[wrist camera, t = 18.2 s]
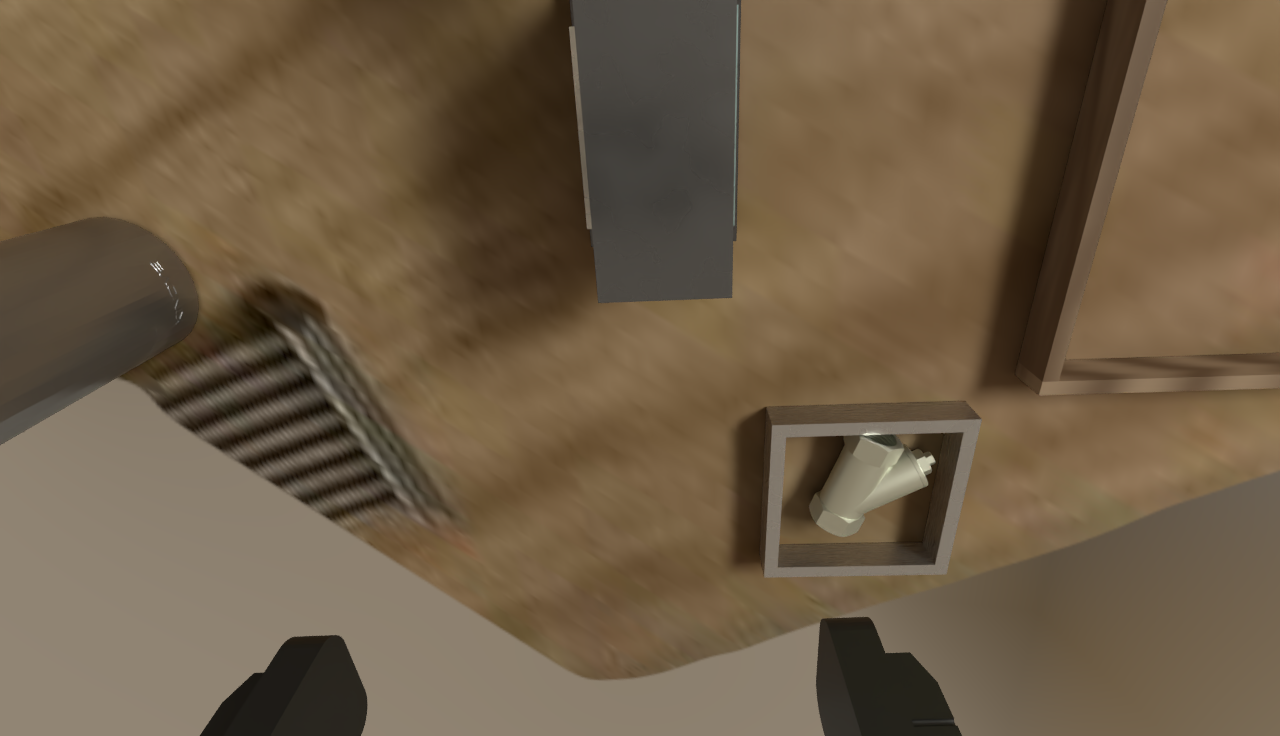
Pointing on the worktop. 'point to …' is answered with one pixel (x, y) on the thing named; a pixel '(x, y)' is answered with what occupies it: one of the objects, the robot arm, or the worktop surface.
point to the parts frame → (869, 420)
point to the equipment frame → (1079, 229)
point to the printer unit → (658, 143)
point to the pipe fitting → (868, 481)
